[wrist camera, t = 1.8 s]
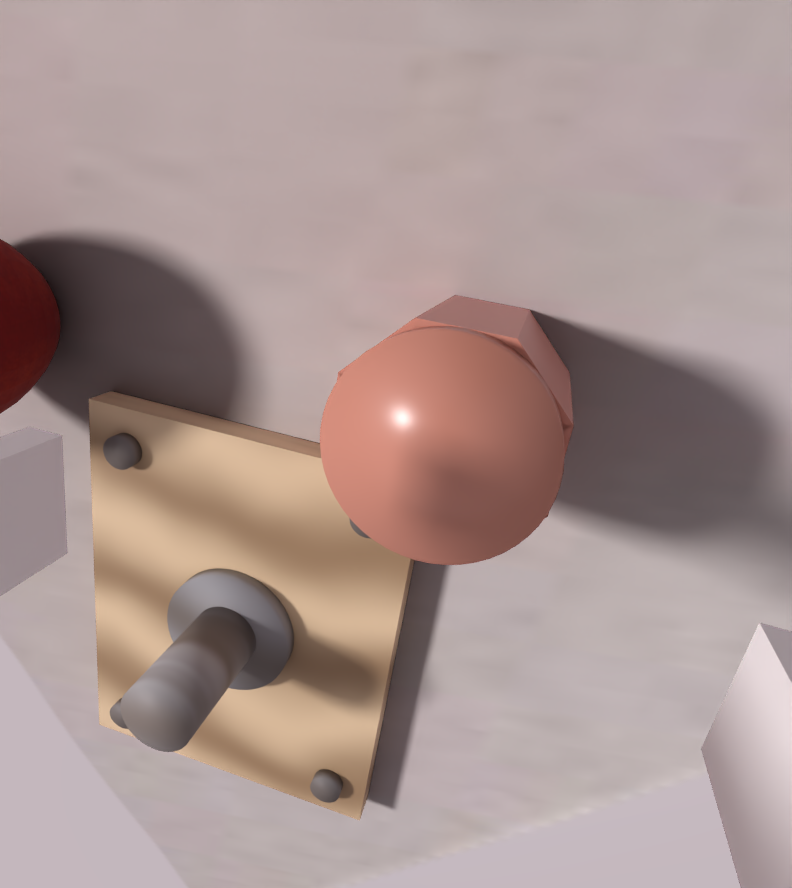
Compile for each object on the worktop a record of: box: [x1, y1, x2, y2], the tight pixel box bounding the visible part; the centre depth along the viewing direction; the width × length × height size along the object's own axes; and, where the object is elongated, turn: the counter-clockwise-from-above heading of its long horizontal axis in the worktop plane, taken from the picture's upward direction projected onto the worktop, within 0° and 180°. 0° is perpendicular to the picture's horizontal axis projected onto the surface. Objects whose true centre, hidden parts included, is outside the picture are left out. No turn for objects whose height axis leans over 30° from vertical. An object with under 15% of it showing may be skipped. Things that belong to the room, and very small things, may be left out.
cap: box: [320, 295, 574, 565], centre depth 21 cm, size 7×7×8 cm
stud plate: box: [89, 391, 414, 820], centre depth 27 cm, size 20×16×8 cm
